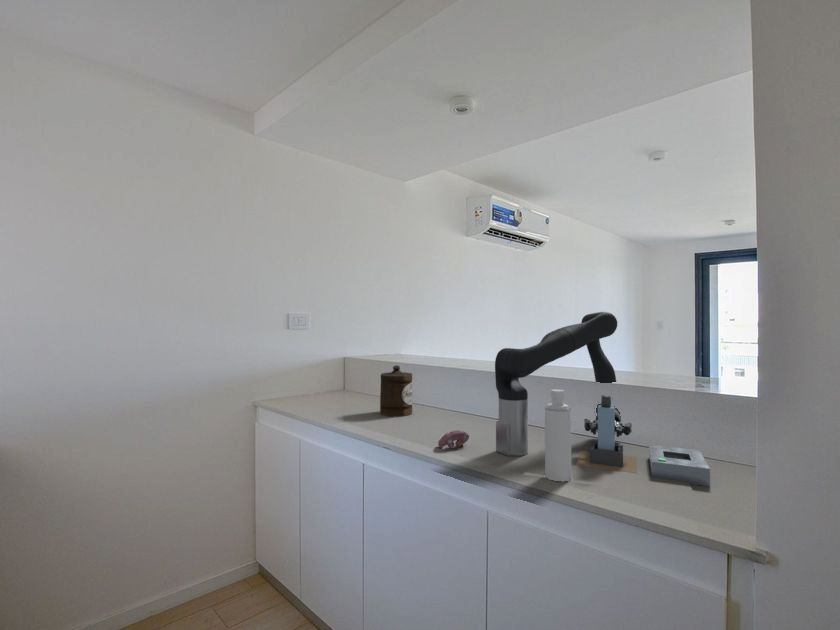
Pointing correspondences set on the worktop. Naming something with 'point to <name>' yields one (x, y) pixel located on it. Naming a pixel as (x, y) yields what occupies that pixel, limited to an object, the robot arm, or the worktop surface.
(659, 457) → the port block
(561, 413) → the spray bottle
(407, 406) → the wooden container
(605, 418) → the plug
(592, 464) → the holster
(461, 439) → the raw steak
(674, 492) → the worktop surface
